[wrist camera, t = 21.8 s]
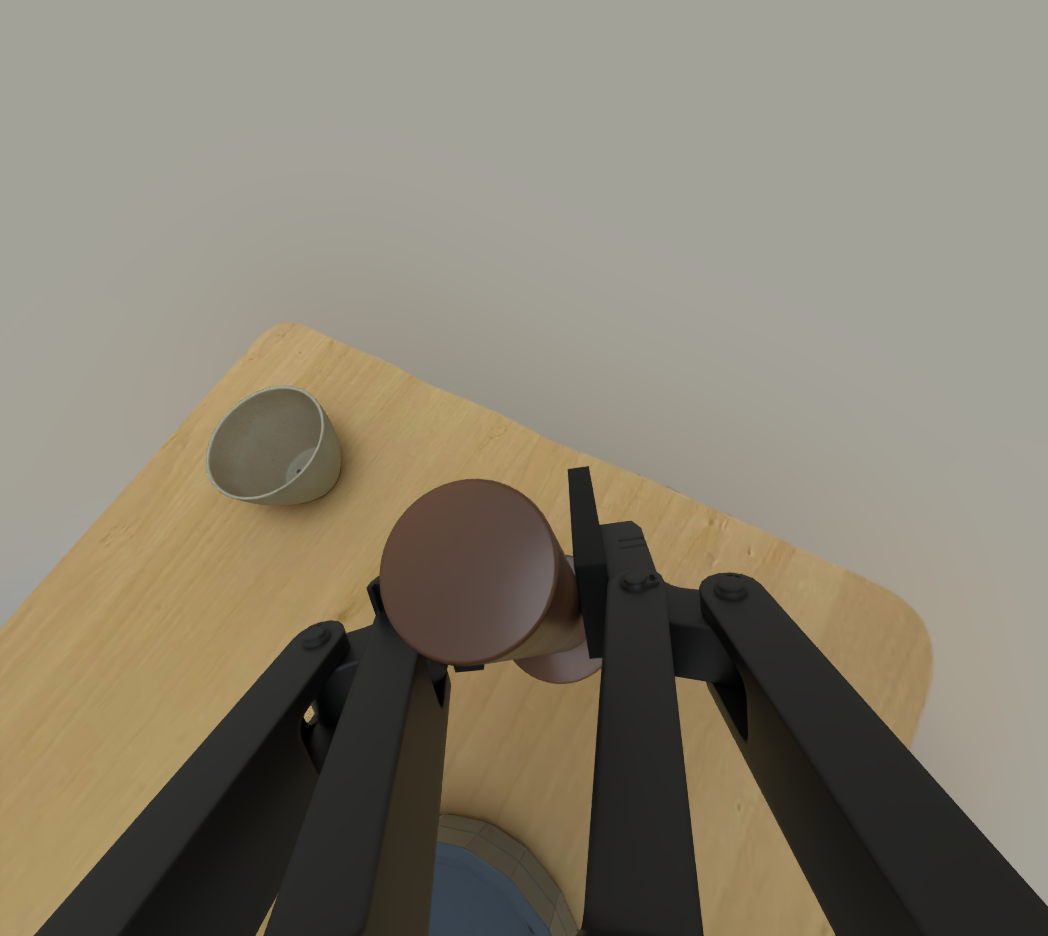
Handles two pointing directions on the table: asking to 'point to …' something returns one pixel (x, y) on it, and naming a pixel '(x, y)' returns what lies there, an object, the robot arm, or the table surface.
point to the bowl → (492, 886)
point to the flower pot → (274, 449)
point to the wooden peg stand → (485, 583)
